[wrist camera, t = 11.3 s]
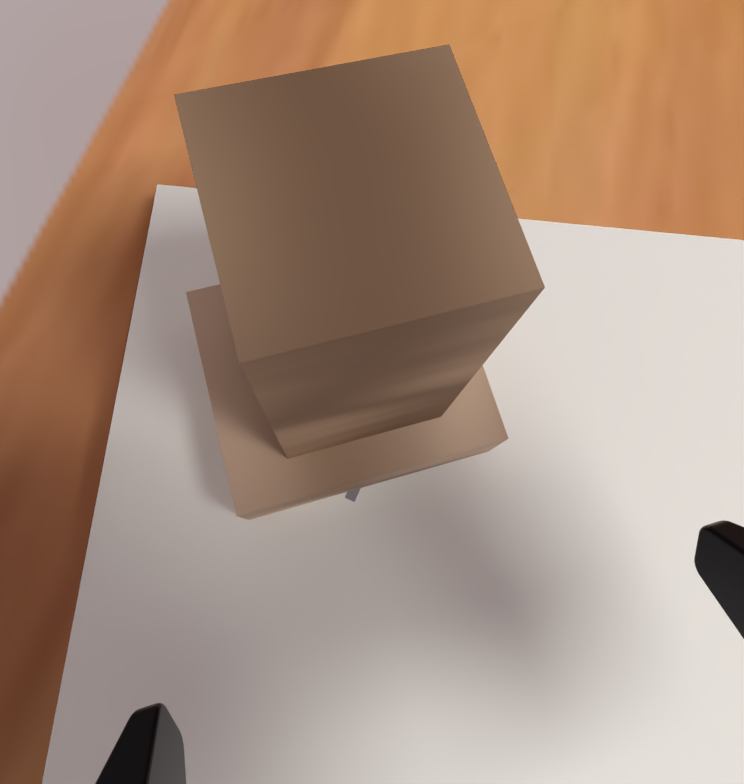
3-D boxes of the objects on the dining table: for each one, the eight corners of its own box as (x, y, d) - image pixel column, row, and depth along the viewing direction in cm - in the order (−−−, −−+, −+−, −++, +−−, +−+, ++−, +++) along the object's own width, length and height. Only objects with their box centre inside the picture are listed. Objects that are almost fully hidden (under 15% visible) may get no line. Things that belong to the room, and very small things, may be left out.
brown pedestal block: (425, 268, 18) (520, -24, 9) (488, 451, 17) (678, 329, 7) (202, 321, 17) (50, 55, 8) (248, 519, 16) (127, 478, 6)
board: (844, 274, 21) (883, 253, 19) (961, 954, 15) (1028, 997, 14) (170, 211, 20) (157, 184, 18) (41, 918, 14) (7, 960, 13)
